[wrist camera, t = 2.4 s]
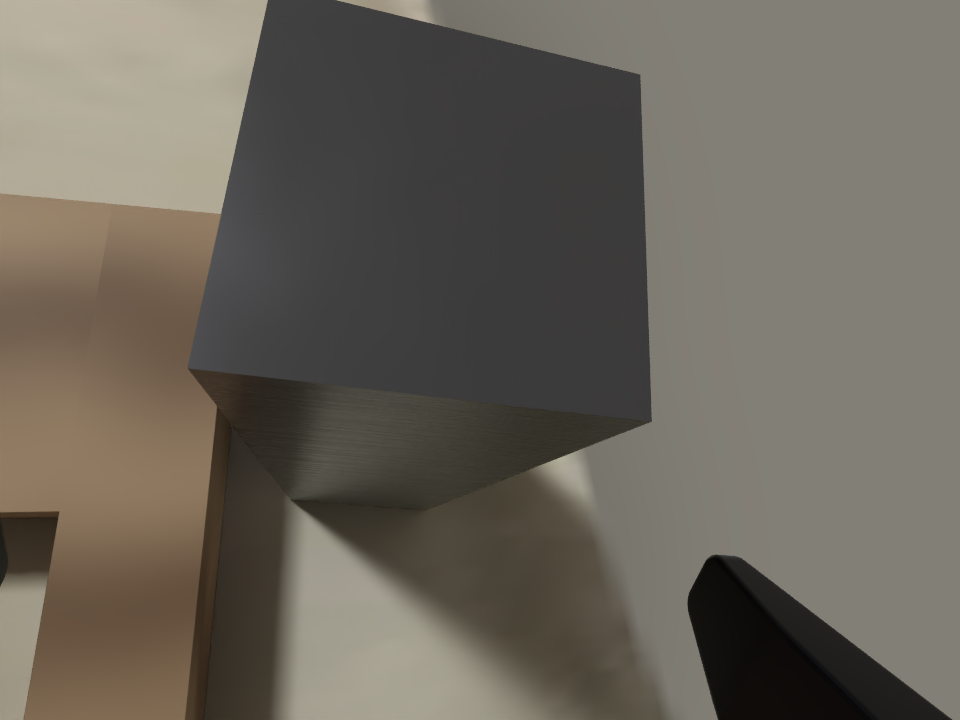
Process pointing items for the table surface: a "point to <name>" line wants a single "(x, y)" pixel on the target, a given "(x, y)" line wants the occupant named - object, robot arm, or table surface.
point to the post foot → (112, 451)
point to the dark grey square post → (425, 259)
